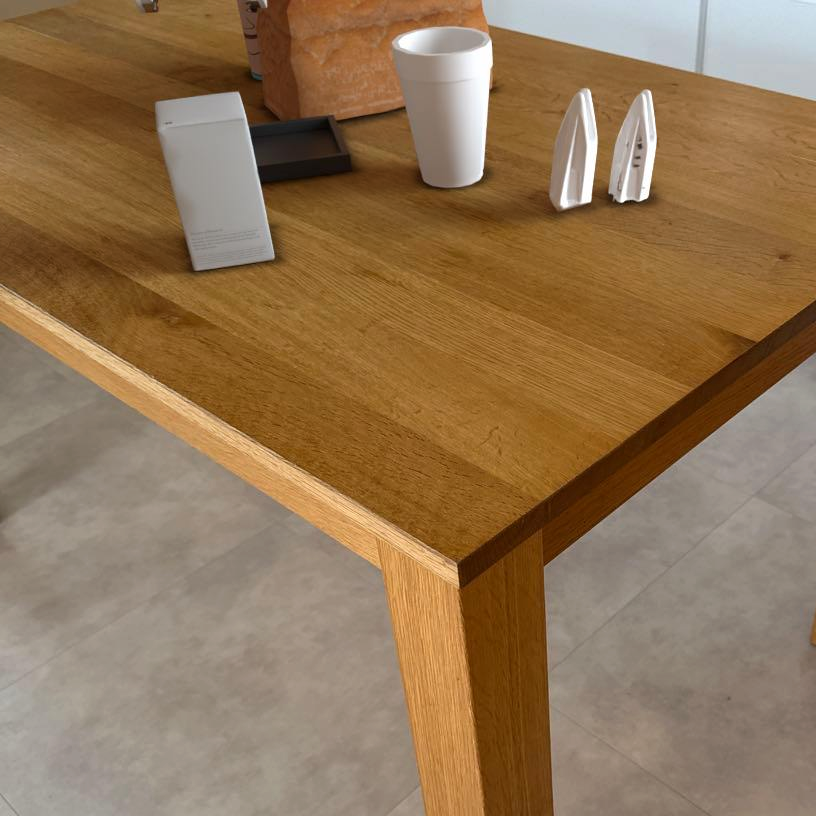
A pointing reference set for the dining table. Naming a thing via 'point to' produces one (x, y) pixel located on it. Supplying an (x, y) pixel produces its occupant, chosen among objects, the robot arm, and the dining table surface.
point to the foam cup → (446, 100)
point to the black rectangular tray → (299, 148)
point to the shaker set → (580, 151)
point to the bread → (344, 52)
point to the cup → (250, 36)
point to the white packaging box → (214, 179)
